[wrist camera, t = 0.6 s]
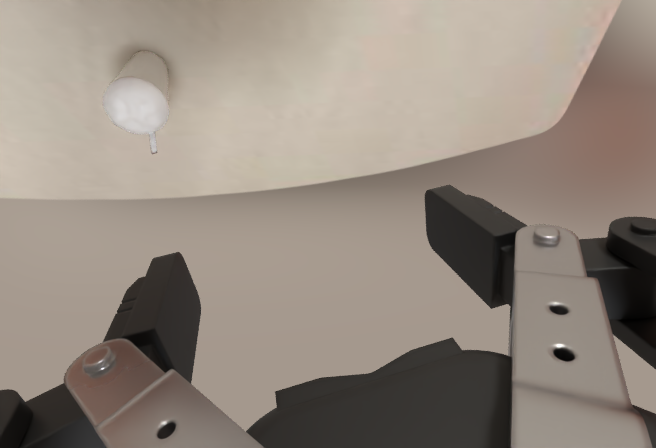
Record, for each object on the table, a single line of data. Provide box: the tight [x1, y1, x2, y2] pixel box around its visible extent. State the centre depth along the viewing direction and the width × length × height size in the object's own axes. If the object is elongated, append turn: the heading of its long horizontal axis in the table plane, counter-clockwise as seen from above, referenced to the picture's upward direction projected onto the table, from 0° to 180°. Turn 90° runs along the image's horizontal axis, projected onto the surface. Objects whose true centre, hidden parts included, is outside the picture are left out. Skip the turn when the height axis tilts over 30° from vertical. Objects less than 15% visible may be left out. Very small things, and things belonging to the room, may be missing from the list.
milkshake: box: [103, 51, 169, 154], centre depth 31 cm, size 4×5×10 cm
